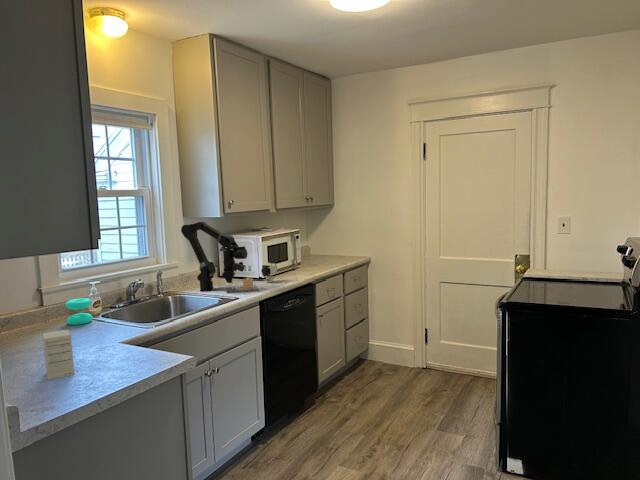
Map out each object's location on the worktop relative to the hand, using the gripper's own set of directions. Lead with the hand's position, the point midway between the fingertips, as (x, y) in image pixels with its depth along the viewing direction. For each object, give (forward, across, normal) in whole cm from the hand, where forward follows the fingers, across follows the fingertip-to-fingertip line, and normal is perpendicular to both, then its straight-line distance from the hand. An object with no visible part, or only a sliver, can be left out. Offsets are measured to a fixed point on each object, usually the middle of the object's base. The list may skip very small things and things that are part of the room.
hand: (230, 286), depth 264 cm
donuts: (+2, -52, +60) cm, 80 cm away
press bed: (+2, -2, -10) cm, 10 cm away
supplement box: (+2, -116, +41) cm, 123 cm away
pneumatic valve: (+3, +19, -22) cm, 29 cm away
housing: (+1, -2, -10) cm, 10 cm away
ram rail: (+2, +1, 0) cm, 2 cm away
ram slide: (+1, -3, 0) cm, 3 cm away
